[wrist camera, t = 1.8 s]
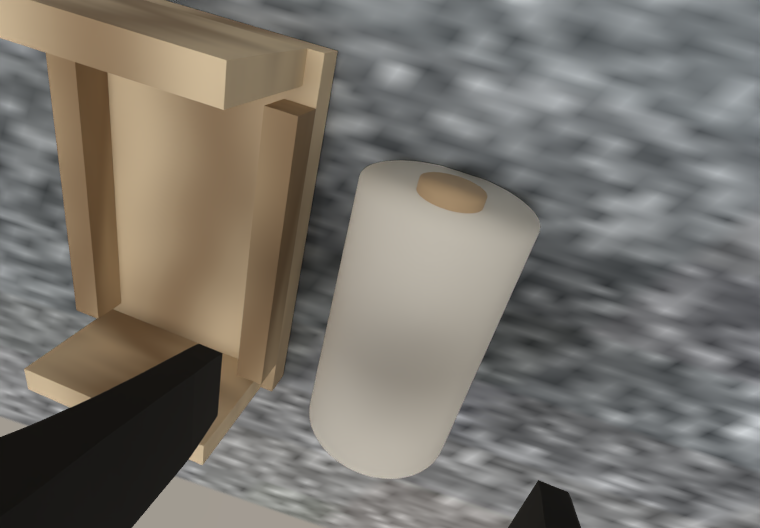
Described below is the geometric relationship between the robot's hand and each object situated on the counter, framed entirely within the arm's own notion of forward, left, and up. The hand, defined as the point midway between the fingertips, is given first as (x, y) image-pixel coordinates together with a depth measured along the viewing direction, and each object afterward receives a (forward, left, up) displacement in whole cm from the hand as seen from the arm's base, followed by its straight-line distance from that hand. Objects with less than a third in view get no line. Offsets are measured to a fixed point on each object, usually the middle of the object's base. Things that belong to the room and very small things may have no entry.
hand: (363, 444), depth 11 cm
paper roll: (0, 0, -5) cm, 5 cm away
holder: (-9, 0, -7) cm, 11 cm away
